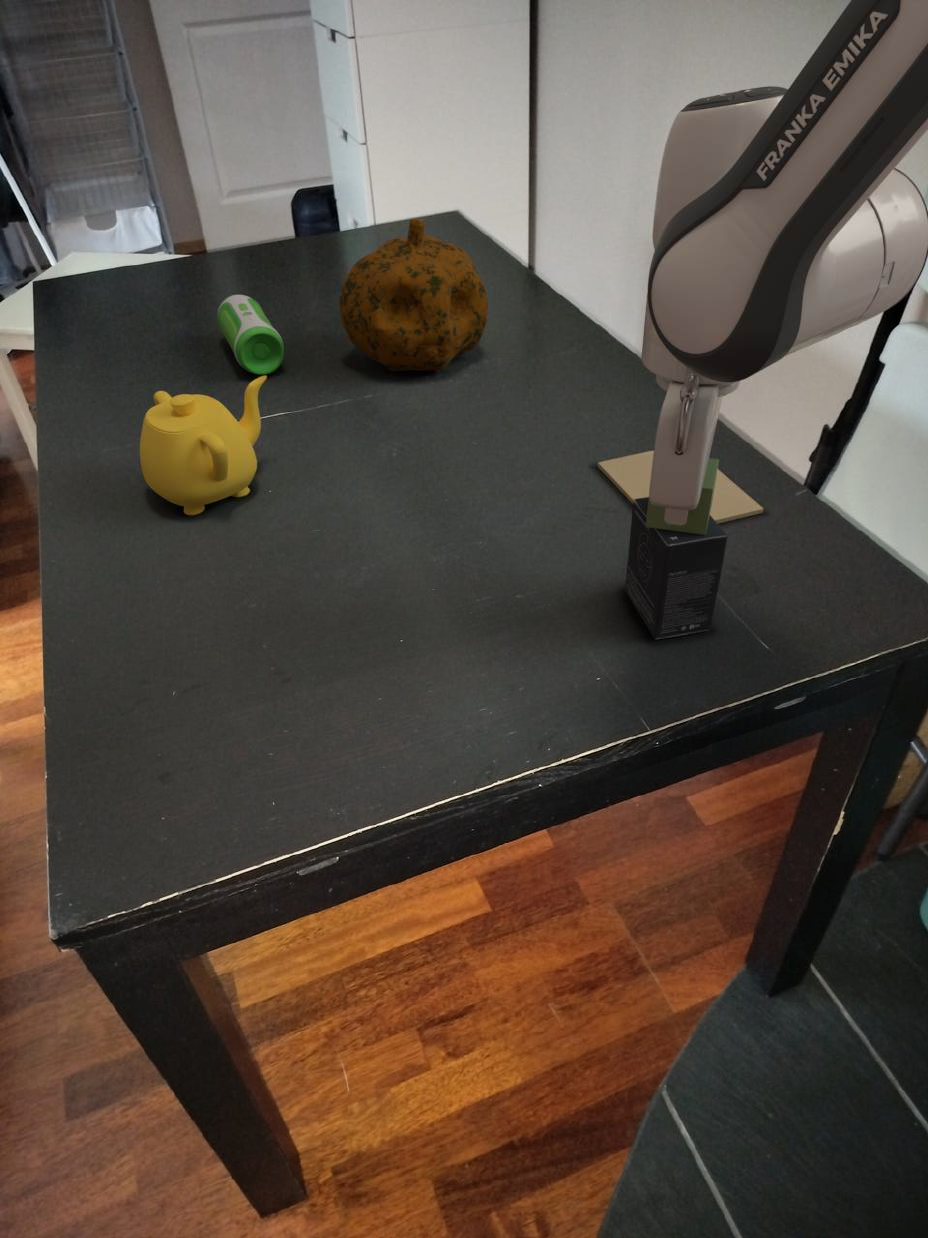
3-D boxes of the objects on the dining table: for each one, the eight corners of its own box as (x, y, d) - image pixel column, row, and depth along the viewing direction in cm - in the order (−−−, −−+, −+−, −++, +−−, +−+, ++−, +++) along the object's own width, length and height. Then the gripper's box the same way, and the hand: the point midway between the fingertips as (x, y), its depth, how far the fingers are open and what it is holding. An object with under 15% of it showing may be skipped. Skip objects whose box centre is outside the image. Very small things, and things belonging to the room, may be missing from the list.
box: (712, 631, 78) (730, 535, 72) (653, 641, 78) (666, 545, 71) (677, 580, 84) (690, 487, 78) (622, 590, 84) (631, 497, 77)
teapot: (252, 524, 96) (228, 428, 88) (131, 521, 97) (97, 427, 90) (285, 461, 106) (266, 370, 99) (175, 460, 108) (148, 370, 100)
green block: (711, 504, 75) (719, 458, 72) (705, 535, 72) (713, 489, 69) (654, 496, 77) (659, 452, 74) (645, 527, 73) (650, 481, 70)
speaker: (291, 373, 127) (282, 323, 122) (242, 384, 125) (231, 333, 120) (265, 333, 139) (256, 286, 134) (220, 342, 137) (209, 294, 132)
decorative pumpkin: (335, 336, 134) (328, 199, 121) (465, 330, 139) (472, 197, 126) (351, 395, 120) (345, 246, 107) (496, 386, 124) (508, 242, 111)
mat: (762, 513, 93) (763, 508, 92) (663, 537, 90) (664, 532, 90) (687, 446, 105) (687, 442, 104) (597, 466, 102) (597, 462, 102)
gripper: (734, 404, 56) (706, 574, 65) (755, 295, 71) (730, 445, 79) (637, 394, 58) (622, 561, 66) (678, 290, 72) (661, 438, 81)
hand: (681, 497), depth 73 cm, fingers open, 6 cm apart
